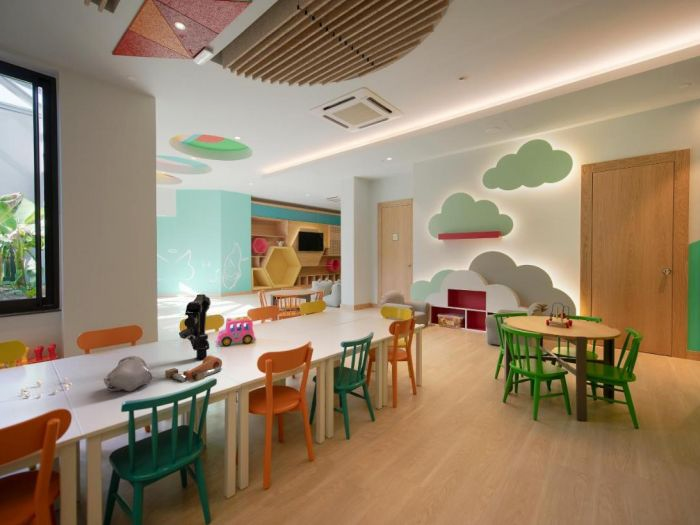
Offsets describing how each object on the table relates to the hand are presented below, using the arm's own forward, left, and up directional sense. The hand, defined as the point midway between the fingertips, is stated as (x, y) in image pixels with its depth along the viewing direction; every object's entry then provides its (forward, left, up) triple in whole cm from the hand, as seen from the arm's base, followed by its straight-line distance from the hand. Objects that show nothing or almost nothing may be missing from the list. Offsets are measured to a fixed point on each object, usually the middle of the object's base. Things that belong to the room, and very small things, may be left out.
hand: (194, 349), depth 194 cm
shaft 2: (+16, -2, -12) cm, 20 cm away
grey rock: (-2, -35, -12) cm, 37 cm away
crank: (+9, -1, -12) cm, 16 cm away
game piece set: (-34, -58, -12) cm, 68 cm away
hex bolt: (+6, -14, -12) cm, 20 cm away
